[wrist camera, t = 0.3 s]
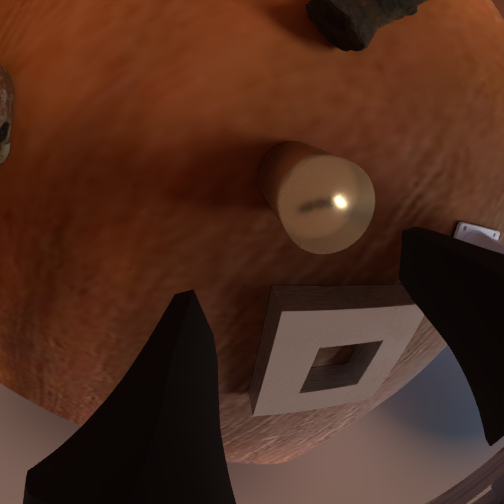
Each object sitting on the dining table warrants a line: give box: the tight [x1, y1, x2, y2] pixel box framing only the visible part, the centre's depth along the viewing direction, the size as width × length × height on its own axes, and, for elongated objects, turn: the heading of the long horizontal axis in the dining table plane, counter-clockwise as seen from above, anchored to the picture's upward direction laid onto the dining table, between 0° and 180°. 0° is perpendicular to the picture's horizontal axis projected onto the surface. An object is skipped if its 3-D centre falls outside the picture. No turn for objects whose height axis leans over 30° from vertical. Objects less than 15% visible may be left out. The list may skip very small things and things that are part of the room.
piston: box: [258, 142, 375, 254], centre depth 14 cm, size 4×4×6 cm
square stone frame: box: [249, 285, 424, 416], centre depth 24 cm, size 14×14×3 cm
